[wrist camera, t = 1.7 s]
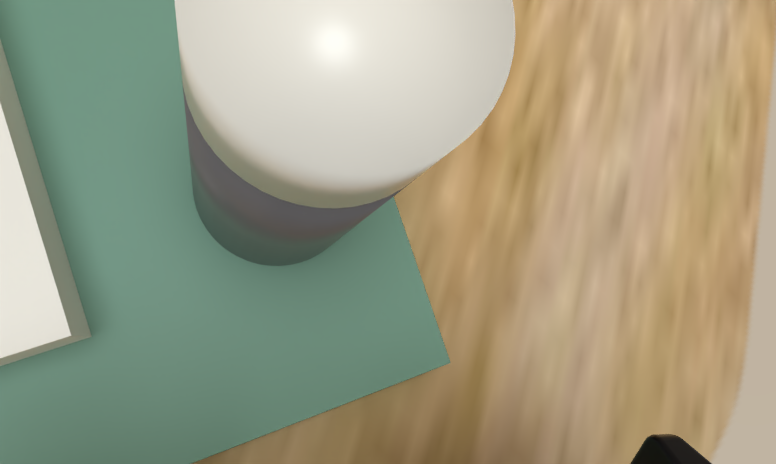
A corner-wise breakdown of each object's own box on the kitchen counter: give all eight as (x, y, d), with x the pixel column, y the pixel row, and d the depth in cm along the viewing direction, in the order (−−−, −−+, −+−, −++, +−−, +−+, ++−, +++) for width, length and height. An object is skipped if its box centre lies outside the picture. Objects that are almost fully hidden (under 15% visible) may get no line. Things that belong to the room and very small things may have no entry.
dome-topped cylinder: (376, 237, 22) (560, 124, 11) (221, 287, 21) (239, 219, 9) (326, 92, 22) (451, -173, 11) (171, 130, 21) (126, -127, 9)
